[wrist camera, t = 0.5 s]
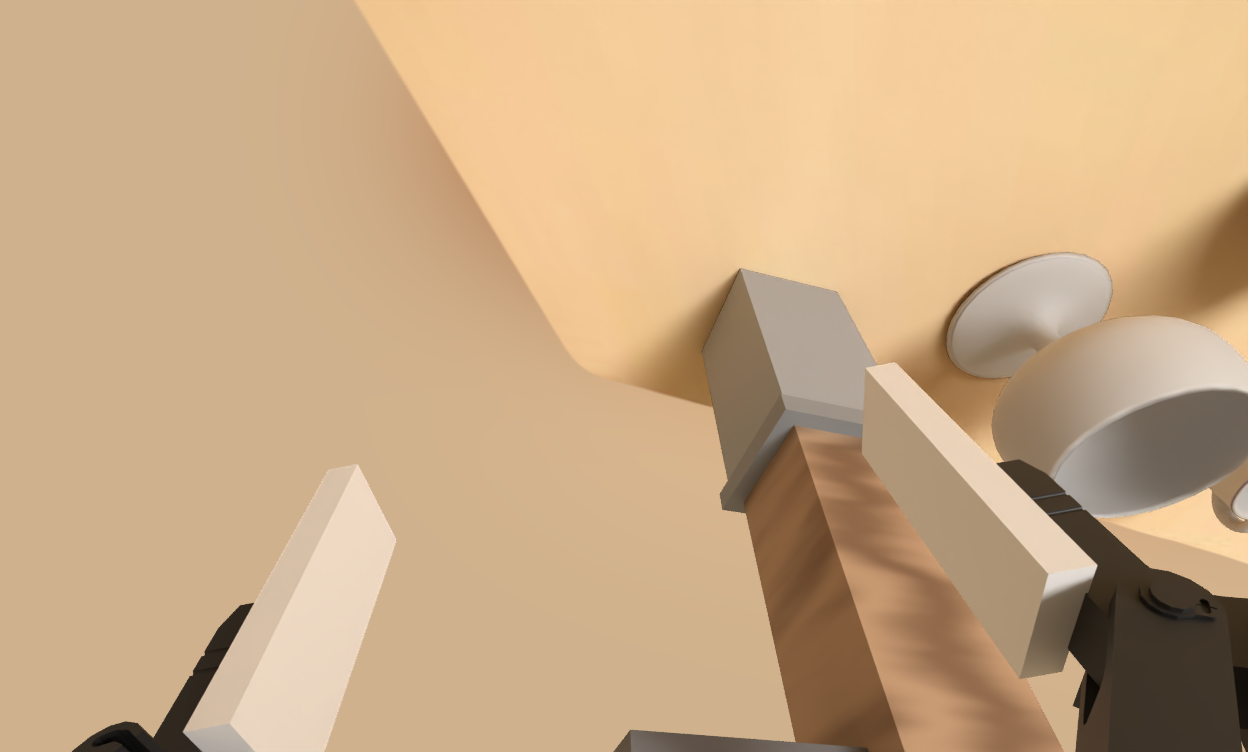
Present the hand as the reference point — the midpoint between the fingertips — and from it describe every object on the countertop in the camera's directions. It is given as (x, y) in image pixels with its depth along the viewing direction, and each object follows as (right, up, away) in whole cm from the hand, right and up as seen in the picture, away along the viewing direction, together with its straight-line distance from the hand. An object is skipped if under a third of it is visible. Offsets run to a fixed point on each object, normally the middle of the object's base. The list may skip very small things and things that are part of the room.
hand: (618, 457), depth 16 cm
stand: (+11, +6, +32) cm, 34 cm away
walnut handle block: (+7, -3, +19) cm, 20 cm away
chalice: (+32, +7, +32) cm, 46 cm away
